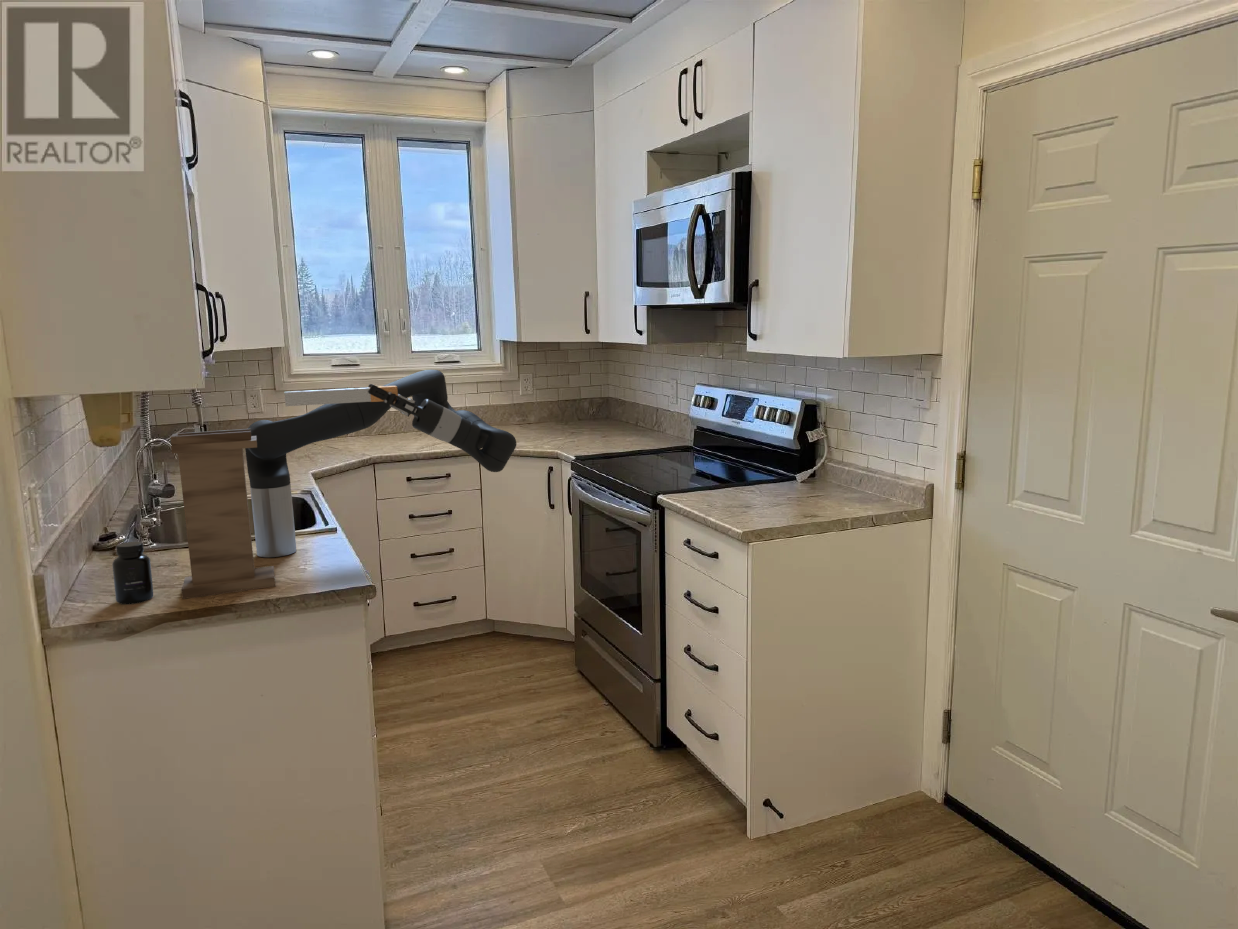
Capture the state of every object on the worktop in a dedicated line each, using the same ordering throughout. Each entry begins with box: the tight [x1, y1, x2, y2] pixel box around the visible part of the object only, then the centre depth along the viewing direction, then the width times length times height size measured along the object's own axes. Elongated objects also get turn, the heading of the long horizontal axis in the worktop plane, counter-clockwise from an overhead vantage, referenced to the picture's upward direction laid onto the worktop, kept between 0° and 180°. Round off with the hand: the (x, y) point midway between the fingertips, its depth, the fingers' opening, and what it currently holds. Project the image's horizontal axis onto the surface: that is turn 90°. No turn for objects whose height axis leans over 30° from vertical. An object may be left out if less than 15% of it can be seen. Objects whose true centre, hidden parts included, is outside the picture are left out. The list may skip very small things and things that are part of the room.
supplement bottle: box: [111, 541, 154, 605], centre depth 172 cm, size 7×7×12 cm
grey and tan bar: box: [283, 385, 398, 407], centre depth 187 cm, size 3×24×3 cm, turn 114°
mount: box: [170, 428, 276, 600], centre depth 178 cm, size 10×18×34 cm, turn 114°
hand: (369, 388), depth 189 cm, fingers closed on grey and tan bar, 3 cm apart
